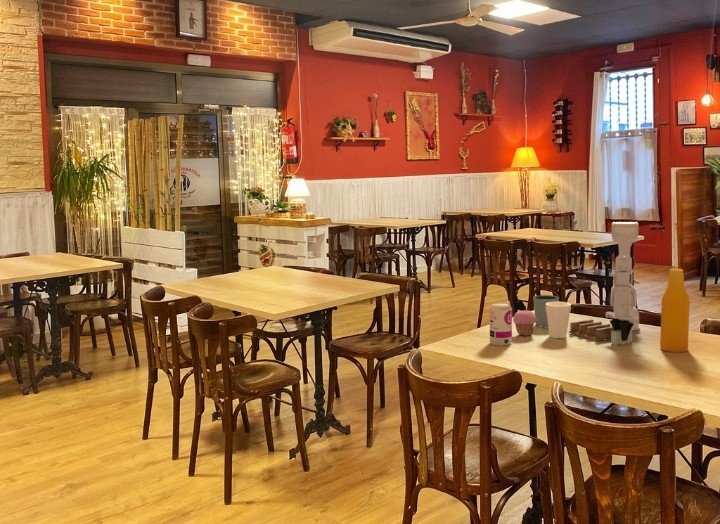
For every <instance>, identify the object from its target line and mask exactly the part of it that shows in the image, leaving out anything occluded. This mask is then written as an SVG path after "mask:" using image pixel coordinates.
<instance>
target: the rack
mask: <svg viewBox="0 0 720 524" xmlns="http://www.w3.org/2000/svg"><path fill="white" fill-rule="evenodd" d="M569 323H570V324H569V325H570V326H569V327H570V329H569V331H568V334H569V333H571V334H570V335H572V334H574V335H573V336H575V335H577V336H576V337H579V336H580V337H579V338H582V337H584V338H583V339H586V338H587V340H589V339H591V340H590V341H593V340H595V341H594V342H596V341H598V342H600V341H599V340H604V339H610V340H611V331H614V330H613V327H612V326H611V323H603V322H602V321H599V320H598V321H594V319H586V320H578V321H572V322H571V321H570V322H569ZM604 341H605V340H604Z"/></svg>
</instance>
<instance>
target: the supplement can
mask: <svg viewBox="0 0 720 524" xmlns="http://www.w3.org/2000/svg"><path fill="white" fill-rule="evenodd" d="M489 342H490V343H491V345H493V346H499V347H503V346H504V347H505V346H509V345H511V344H512V343H513V307H512V306H511V304H510V303H506V302H496V303H492V304H490V307H489Z"/></svg>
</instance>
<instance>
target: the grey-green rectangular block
mask: <svg viewBox="0 0 720 524" xmlns="http://www.w3.org/2000/svg"><path fill="white" fill-rule="evenodd" d="M630 342H633V330H632V329H631V330H630V333H629V336H628V339H627V340H626V341H622V338H621V329H620V330H614V331H611V339H610V344H611V343H612V344H611V345H613V344H615V345H614V346H618V345H617V344H621V345H624V344H623V343H627V344H631V343H630Z"/></svg>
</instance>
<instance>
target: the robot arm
mask: <svg viewBox="0 0 720 524" xmlns="http://www.w3.org/2000/svg"><path fill="white" fill-rule="evenodd" d="M638 237H639V223H638V221H635V222H634V221H628V222H626V221H624V222H623V221H622V222H621V221H618V222H617V221H616V222H615V221H613V222H612V223H611V240H612V242H614V243H617V245H618V255H617V256H616V257H615V263H614V264H615V267H614V273H613V278H612V279H613V280H612V281H613V286H612V287H611V289H610V306H611V307H613V312H612V311H606V312H605V318H610V319H611V320H609V324H610V326H611V327H613V330H620V329H621V338H622V341H626V340H627V339H628V336H629V333H630V330H631V329H632V331H637V330H641V328H640V327H639V324H640V313H639V310H638V308H637V299H638V298H637V296H638V294H637V287H635V286H634V285H633V271H632V266H633V265H632V264H633V259H632V257H631V247H632V245H633V243H636V242H637V241H638V239H639V238H638Z"/></svg>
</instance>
